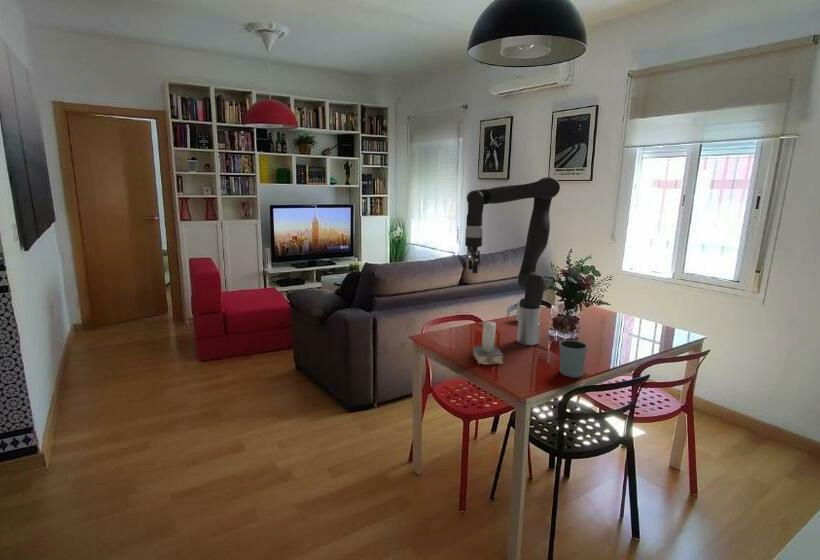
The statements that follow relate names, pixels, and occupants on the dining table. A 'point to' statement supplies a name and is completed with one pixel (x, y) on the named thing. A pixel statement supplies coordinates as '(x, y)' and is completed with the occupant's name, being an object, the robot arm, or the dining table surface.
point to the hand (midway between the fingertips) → (472, 271)
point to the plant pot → (572, 357)
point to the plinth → (488, 356)
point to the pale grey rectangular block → (488, 336)
